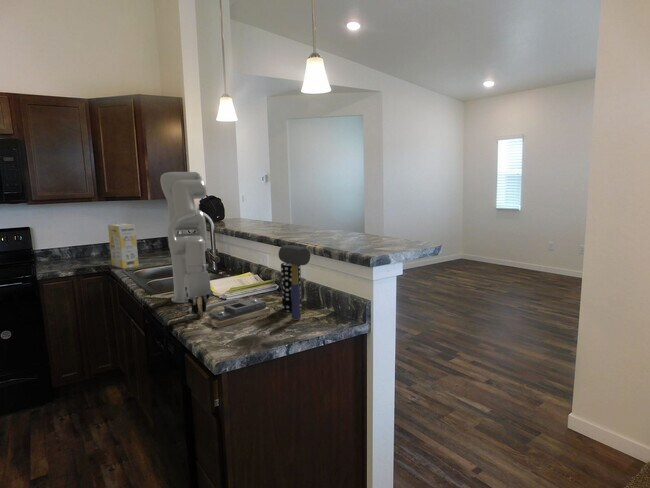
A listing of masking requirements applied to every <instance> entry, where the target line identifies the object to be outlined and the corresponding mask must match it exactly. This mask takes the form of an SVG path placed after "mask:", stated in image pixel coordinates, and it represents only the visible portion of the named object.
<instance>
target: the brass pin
mask: <svg viewBox="0 0 650 488" xmlns="http://www.w3.org/2000/svg"><path fill="white" fill-rule="evenodd" d="M196 305H197V309H198V314H195V319H202V318H204V312H203V304H202V296H199V297H196Z"/></svg>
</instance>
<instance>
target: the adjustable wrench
mask: <svg viewBox="0 0 650 488" xmlns="http://www.w3.org/2000/svg"><path fill="white" fill-rule="evenodd" d="M237 302H240V298H239V297H234V298H229V299H226V300H222V301H218V302H214V303H210V304H206V312H207V310H210V309H213V308H214V309H215V308H217V307H221V306H226V305H229V304H233V303H237ZM188 313H193V312H192V307H190V308H188Z"/></svg>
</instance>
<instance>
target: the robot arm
mask: <svg viewBox="0 0 650 488" xmlns="http://www.w3.org/2000/svg"><path fill="white" fill-rule="evenodd" d="M160 186H161V189H162V192H163V195H164V196H165V199H166V202H167V209H168V218H169V224H168V226H167V227H168V228H167V240H168V249H169V251H170V253H169V254H170V257H171V265H172V266H171V267H172V278H173V281H172V282H173V294H174V296H172V297H171V300H170V301H171V302H172V303H177V304H185V303H189V304H190V305H191V307H190V308H192V312H191V313H192V314H194V315H196V314H198V309H197V305H196V297H199V296H202V304H203V313H206V312H207V311H206V305H207V302H208V300H209V298H210V297H211V296H212V295H213V294H214V292H213V290H212V287H211V279H210V276H209V272H208V270H207V268H209V266H210V265H209V264H208V263H207V261H206V251H207V250H208V245H209V242H208V234H207V225H206V223H207V221H206V217H205V214H204V212H203V211H202V210H200V209H196V204H195V200H196V199H198V200H199V199H200V200H201V199H205V198H206V196H207V193H208V192H207V191H208V190H207V189H208V188H207V185H206V182H205V180H204V179H203V177H202V176H201V174H200V173H199V172H198V171H197V172H196V171H167V172H165V173H162V174H161V175H160ZM176 231H178V232H181V231H195V232H185V233H176Z"/></svg>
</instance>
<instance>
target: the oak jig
mask: <svg viewBox="0 0 650 488" xmlns="http://www.w3.org/2000/svg"><path fill="white" fill-rule="evenodd" d="M270 313H271V307H268V306H266V309H262V310H259V311H255V312H252V313H248V314H244V315H241V316H237V317H234V318H230V319H227V320H223V321H218V320H216V319H213V318H211V317H209V315H208V316H204V322H205V323H206V324H208V325H211V326H212V327H215V328H218V329H220V328H223V327H227V326H230V325H233V324H237V323H240V322H243V321H248V320H251V319H254V318H257V317H261V316H264V315H268V314H270Z"/></svg>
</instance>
